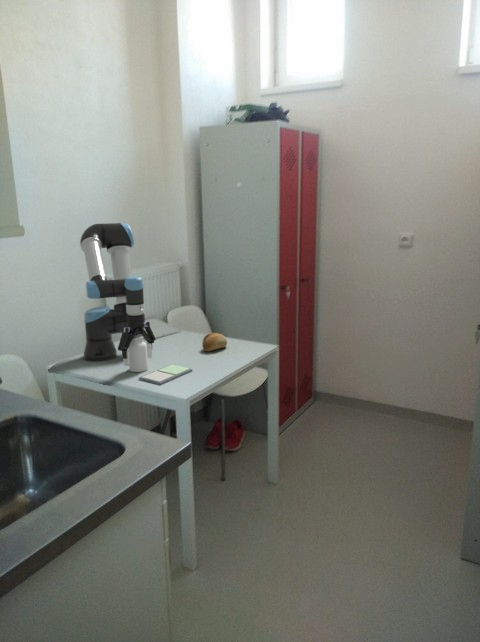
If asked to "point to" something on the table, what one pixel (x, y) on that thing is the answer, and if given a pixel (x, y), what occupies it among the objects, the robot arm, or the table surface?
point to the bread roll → (214, 341)
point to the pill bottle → (138, 355)
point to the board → (165, 374)
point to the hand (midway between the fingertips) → (138, 361)
